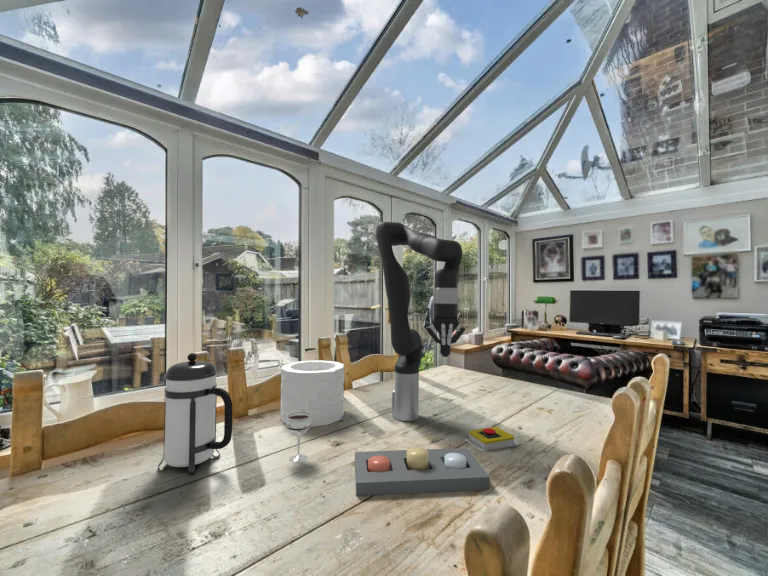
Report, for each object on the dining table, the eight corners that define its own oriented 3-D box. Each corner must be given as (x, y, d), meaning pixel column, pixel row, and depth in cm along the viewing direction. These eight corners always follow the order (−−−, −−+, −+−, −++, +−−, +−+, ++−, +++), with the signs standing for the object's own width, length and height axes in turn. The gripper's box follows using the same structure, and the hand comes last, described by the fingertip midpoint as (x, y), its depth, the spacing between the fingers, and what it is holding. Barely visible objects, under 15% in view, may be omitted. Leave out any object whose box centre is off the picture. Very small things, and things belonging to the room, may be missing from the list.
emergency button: (463, 427, 114) (501, 421, 119) (463, 441, 114) (501, 434, 119) (481, 438, 105) (521, 432, 111) (481, 453, 105) (521, 446, 111)
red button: (368, 482, 87) (368, 466, 87) (367, 471, 93) (367, 455, 93) (390, 481, 88) (391, 465, 88) (388, 470, 93) (388, 455, 93)
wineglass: (315, 455, 102) (315, 413, 102) (302, 465, 96) (302, 421, 96) (294, 451, 104) (295, 410, 104) (281, 461, 98) (281, 418, 98)
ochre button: (408, 473, 88) (408, 457, 88) (405, 462, 94) (405, 447, 94) (430, 472, 89) (430, 456, 89) (425, 461, 94) (425, 446, 94)
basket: (276, 409, 141) (277, 362, 141) (334, 402, 151) (335, 358, 151) (285, 432, 118) (285, 375, 118) (352, 422, 128) (353, 370, 128)
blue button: (447, 479, 89) (447, 463, 89) (441, 468, 95) (442, 453, 95) (469, 478, 90) (469, 462, 90) (462, 467, 95) (462, 452, 95)
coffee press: (153, 485, 85) (156, 360, 86) (160, 457, 99) (162, 350, 100) (231, 469, 93) (233, 355, 94) (227, 445, 107) (229, 347, 108)
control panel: (356, 496, 82) (356, 483, 82) (354, 462, 97) (354, 451, 98) (489, 489, 85) (489, 477, 85) (466, 458, 101) (467, 447, 101)
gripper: (427, 302, 108) (427, 358, 108) (469, 302, 110) (469, 358, 110) (422, 301, 116) (422, 354, 116) (461, 302, 117) (461, 354, 117)
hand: (445, 356), depth 113 cm, fingers closed
